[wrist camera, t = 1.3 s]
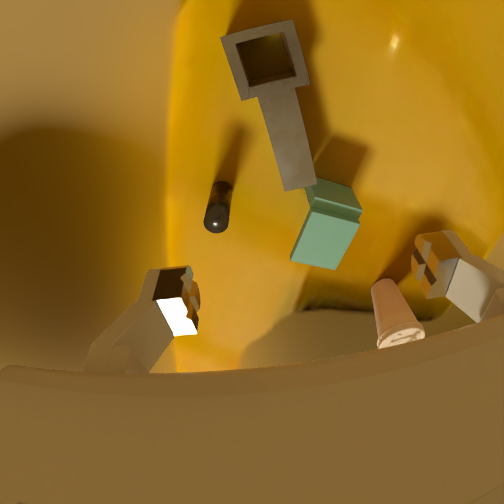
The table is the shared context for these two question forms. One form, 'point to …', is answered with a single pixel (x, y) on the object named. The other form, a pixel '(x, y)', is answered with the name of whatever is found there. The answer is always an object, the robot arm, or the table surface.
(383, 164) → the table surface
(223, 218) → the pintle
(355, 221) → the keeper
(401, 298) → the smoothie
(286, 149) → the link
